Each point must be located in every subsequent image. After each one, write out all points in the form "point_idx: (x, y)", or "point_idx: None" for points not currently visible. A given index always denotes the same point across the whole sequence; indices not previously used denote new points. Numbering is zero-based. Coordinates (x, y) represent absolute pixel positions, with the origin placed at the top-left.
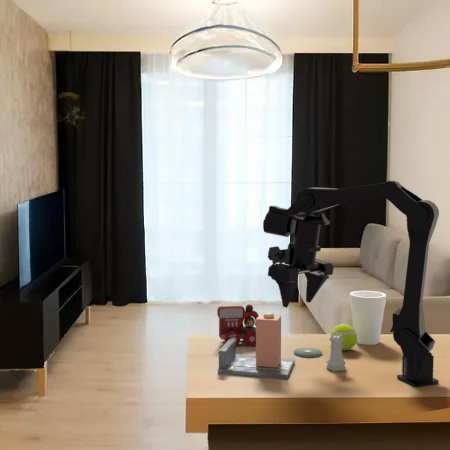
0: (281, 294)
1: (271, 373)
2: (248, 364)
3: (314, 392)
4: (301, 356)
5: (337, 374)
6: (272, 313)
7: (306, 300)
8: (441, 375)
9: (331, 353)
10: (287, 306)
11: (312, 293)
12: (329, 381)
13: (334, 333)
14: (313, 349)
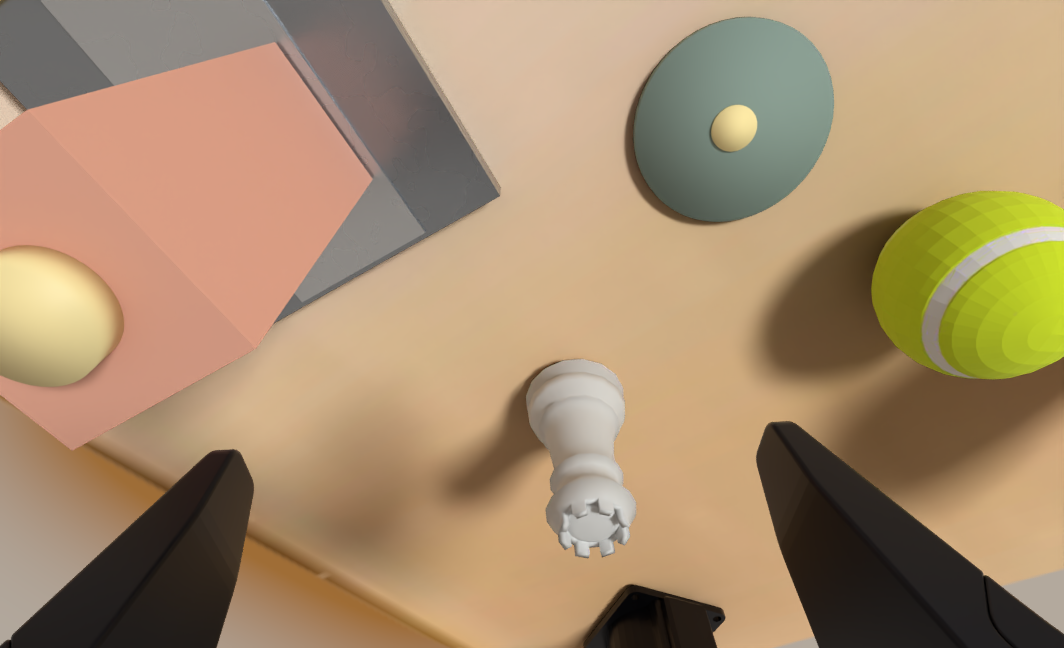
0: (48, 625)
1: None
2: (137, 46)
3: None
4: (634, 141)
5: (506, 435)
6: (82, 349)
7: (773, 435)
8: (757, 644)
9: (552, 441)
10: (244, 502)
11: (815, 598)
12: (402, 458)
13: (932, 279)
14: (804, 124)
